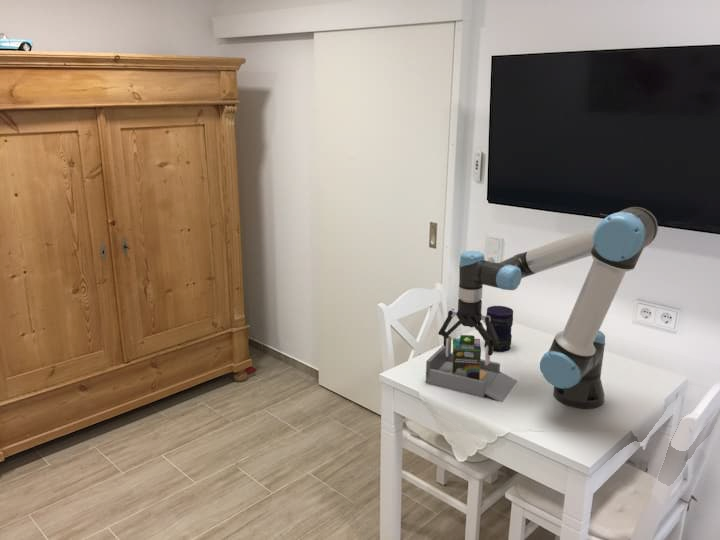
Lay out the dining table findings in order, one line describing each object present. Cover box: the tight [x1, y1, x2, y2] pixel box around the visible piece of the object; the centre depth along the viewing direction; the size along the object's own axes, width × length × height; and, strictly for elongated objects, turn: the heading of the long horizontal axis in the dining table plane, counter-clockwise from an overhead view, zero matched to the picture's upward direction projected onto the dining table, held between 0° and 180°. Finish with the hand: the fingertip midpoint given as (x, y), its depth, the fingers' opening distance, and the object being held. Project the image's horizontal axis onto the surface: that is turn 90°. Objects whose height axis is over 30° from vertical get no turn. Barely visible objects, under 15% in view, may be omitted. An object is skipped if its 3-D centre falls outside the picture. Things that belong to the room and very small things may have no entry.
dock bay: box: [425, 344, 518, 403], centre depth 197 cm, size 26×16×8 cm, turn 60°
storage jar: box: [484, 305, 514, 353], centre depth 223 cm, size 10×10×15 cm
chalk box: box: [452, 334, 482, 380], centre depth 196 cm, size 9×9×15 cm
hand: (467, 359), depth 196 cm, fingers open, 13 cm apart
